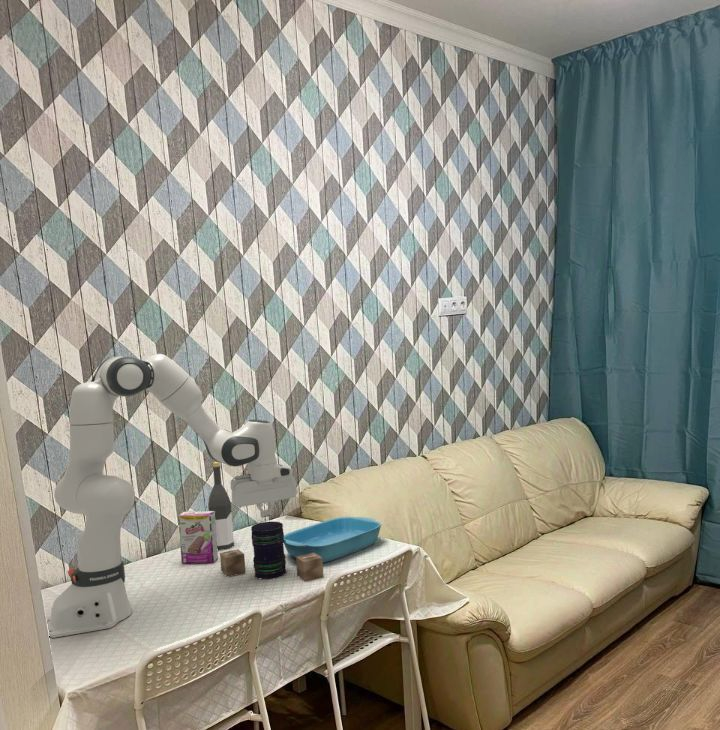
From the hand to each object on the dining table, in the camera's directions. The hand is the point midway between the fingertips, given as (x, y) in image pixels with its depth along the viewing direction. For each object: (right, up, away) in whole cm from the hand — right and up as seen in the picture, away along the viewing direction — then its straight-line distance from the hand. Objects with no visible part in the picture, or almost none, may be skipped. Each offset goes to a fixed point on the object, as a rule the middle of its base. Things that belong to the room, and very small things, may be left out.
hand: (266, 516), depth 215 cm
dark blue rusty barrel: (+1, -18, +1) cm, 18 cm away
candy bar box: (-24, -19, +17) cm, 35 cm away
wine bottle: (-20, -18, +32) cm, 41 cm away
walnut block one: (+14, -17, -4) cm, 22 cm away
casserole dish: (+20, -16, +21) cm, 33 cm away
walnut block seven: (-11, -19, +5) cm, 22 cm away
